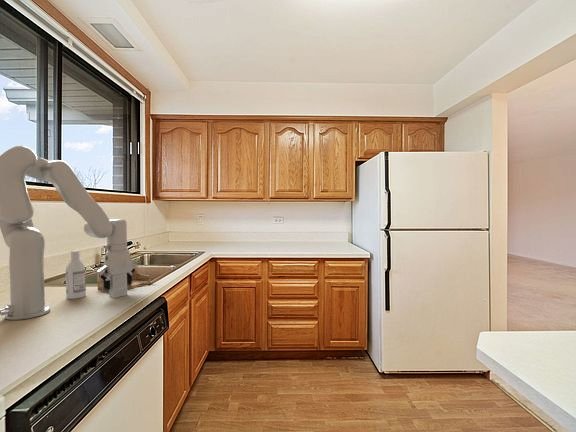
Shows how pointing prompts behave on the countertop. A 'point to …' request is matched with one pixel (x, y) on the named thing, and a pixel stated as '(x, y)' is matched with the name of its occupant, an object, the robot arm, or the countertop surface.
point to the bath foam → (75, 277)
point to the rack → (136, 282)
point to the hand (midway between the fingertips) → (118, 286)
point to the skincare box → (118, 285)
